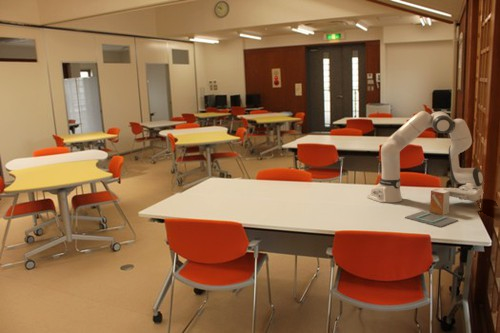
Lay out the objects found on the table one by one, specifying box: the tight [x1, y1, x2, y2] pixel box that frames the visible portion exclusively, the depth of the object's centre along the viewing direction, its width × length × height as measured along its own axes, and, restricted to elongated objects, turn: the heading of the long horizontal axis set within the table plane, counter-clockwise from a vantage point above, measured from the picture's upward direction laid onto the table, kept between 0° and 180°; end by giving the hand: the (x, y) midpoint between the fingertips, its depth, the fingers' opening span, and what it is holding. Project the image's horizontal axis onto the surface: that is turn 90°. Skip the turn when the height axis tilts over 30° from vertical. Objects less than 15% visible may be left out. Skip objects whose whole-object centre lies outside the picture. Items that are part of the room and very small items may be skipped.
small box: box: [429, 188, 450, 216], centre depth 255 cm, size 8×6×13 cm
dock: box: [404, 210, 459, 228], centre depth 245 cm, size 22×16×1 cm
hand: (452, 196), depth 262 cm, fingers open, 8 cm apart
